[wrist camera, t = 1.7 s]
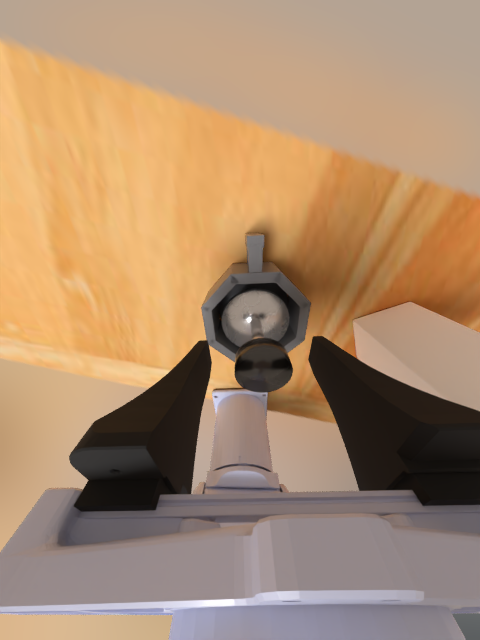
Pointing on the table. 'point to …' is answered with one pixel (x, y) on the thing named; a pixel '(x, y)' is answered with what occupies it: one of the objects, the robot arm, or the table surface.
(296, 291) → the grey jug
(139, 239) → the table surface
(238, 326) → the plunger
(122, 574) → the robot arm
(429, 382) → the milk
